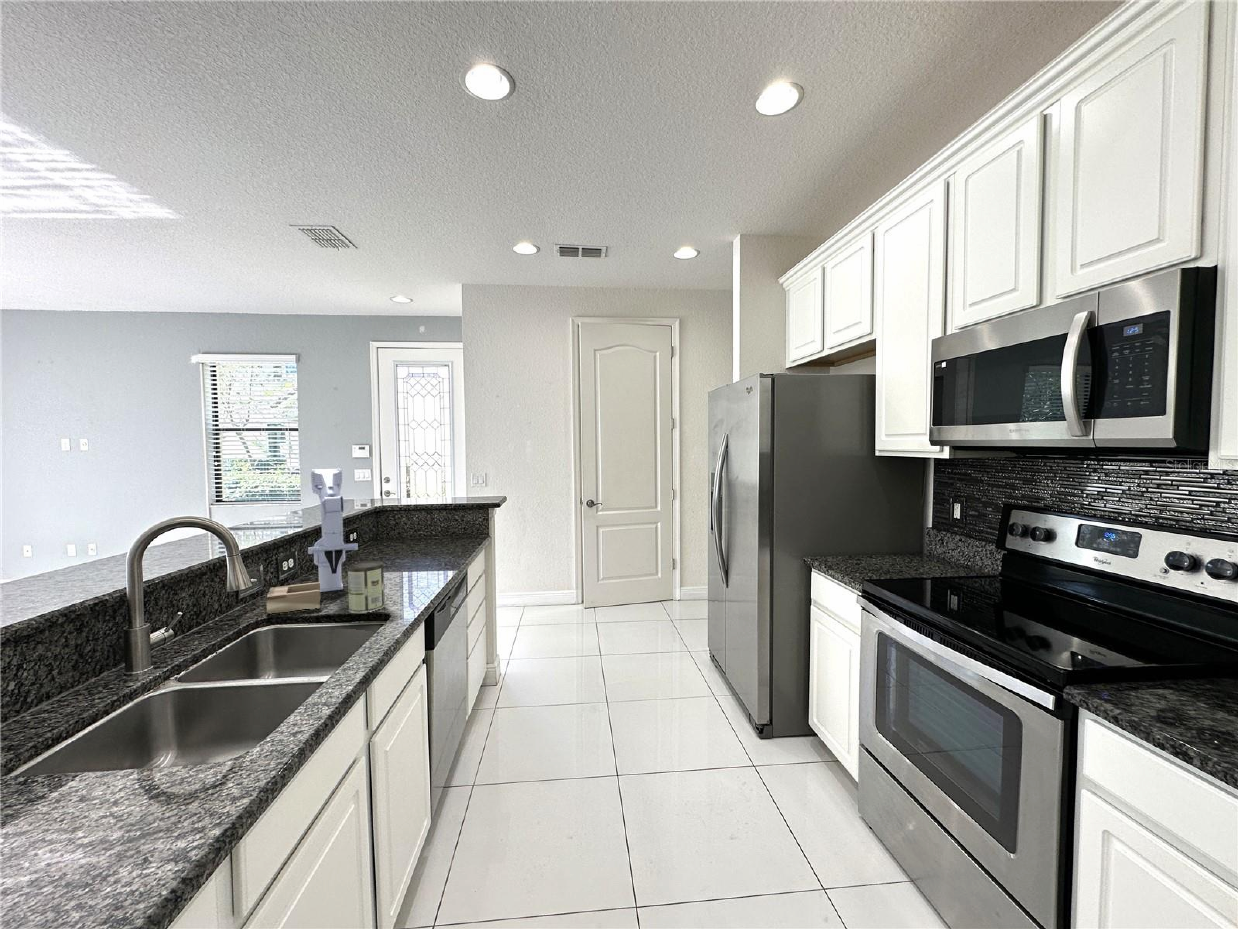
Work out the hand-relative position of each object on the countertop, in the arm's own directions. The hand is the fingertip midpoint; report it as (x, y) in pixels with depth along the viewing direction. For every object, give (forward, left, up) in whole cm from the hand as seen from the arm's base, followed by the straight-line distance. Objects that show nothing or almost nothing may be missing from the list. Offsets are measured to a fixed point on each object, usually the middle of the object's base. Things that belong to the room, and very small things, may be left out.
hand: (334, 573), depth 174 cm
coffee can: (+15, +9, -10) cm, 20 cm away
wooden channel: (0, -11, -9) cm, 15 cm away
